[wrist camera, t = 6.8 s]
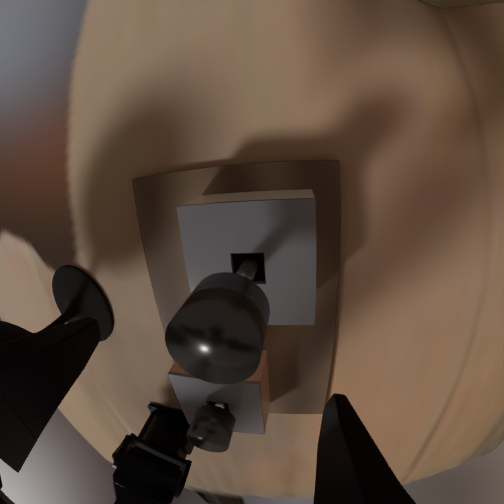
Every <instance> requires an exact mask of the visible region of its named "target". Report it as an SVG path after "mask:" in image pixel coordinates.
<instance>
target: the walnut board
mask: <svg viewBox="0 0 504 504" xmlns="http://www.w3.org/2000/svg"><path fill="white" fill-rule="evenodd" d="M132 181H133V189H134V196H135V203H136V209H137V215H138V221H139V227H140V232H141V238H142V243H143V248H144V253H145V257H146V262H147V267H148V271H149V275H150V280H151V284H152V288H153V292H154V296H155V300H156V304H157V307H158V311H159V315H160V318H161V322H162V325H163V329H164V332H166V328H167V326H168V324H169V322H170V321H171V319H172V318H173V317H174V315H175V314H176V313H177V311H178V310H179V309H180V307H181V306H182V305H183V303H184V302H185V301H186V299H187V298H188V297H189V295H190V294H191V291H190V286H189V281H188V275H187V270H186V264H185V259H184V253H183V247H182V240H181V234H180V228H179V221H178V214H177V206H179V205H181V204H184V203H186V202H188V201H190V200H192V199H195V198H197V197H199V196H201V195H213V194H225V193H239V192H255V191H275V190H302V189H312V191H313V194H314V196H315V202H316V305H315V325H268V327H267V331H266V336H265V341H264V345H263V350H267V364H268V379H269V394H270V406H269V412H268V413H284V414H323V410H324V407H325V401H326V395H327V389H328V382H329V375H330V368H331V360H332V352H333V343H334V334H335V324H336V312H337V299H338V284H339V263H340V172H339V160H314V161H285V162H267V163H252V164H240V165H229V166H219V167H210V168H202V169H193V170H186V171H179V172H172V173H165V174H159V175H153V176H147V177H141V178H136V179H132ZM232 258H233V267H234V273H237V271H238V269H239V267H240V265H241V264H242V262H243V261H244V260H245V259H253V260H254V261H255V262H256V263H257V266H258V268H257V271H256V274H255V276H254V279H253V281H266V277H265V262H264V253H232ZM173 361H174V359H173ZM174 363H175V361H174Z"/></svg>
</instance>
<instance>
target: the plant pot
mask: <svg viewBox="0 0 504 504" xmlns="http://www.w3.org/2000/svg"><path fill="white" fill-rule="evenodd" d="M421 1H423V2H425V3H427V4H430V5H432V6H435V7H439V8H454V7H465V6H475V5H484V4H492V3H501V2H504V0H421Z"/></svg>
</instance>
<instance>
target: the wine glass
mask: <svg viewBox="0 0 504 504" xmlns="http://www.w3.org/2000/svg"><path fill="white" fill-rule="evenodd" d="M52 288H53V295H54V298H55V301H56V304H57V306H58V308H59V310H60V312H61V314H62V315H61V316H60V317H58V318H57V319H56V320H55V321H54V322H52V323H51V324H50V325H48V326H47V327H46V328H44V329H43V330H41V331H44V330H48V329H51V328H54V327H57V326H60V325H63V324H65V323H66V322H68V323H69V322H73V321H76V320H79V319H82V318H85V317H92V318H94V319H96V320H98V322H99V327H100V333H101V339H100V341H104V340H105V339H107V338H108V337H109V336H110V335H111V333H112V330H113V316H112V312H111V309H110V306H109V304H108V301H107V299H106V297H105V296H104V294H103V292H102V291H101V289H100V288H99V286H98V285H97V284H96V283H95V281H94V280H93V279H92V278H91V277H90V276H89V275H88V274H86V273H85V272H84V271H83V270H81V269H79V268H77V267H75V266H71V265H65V266H62V267H60V268H59V269H57V271H56V272H55V274H54V276H53V281H52ZM41 331H39V332H41ZM37 333H38V332H37ZM32 334H35V333H31V332H29V331H27V330H25V329H23V328H21V327H19V326H16V325H14V324H11V323H8V322H4V321H0V344H2V343H6V342H9V341H12V340H17V339H19V338H22V337H25V336H29V335H32Z"/></svg>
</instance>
